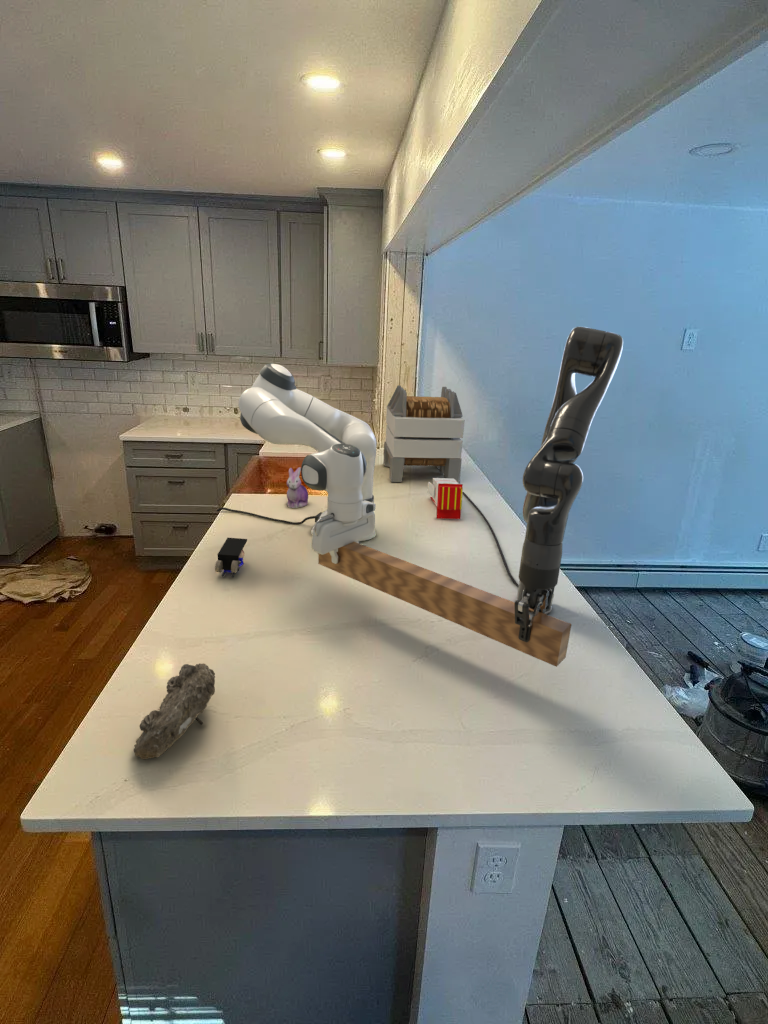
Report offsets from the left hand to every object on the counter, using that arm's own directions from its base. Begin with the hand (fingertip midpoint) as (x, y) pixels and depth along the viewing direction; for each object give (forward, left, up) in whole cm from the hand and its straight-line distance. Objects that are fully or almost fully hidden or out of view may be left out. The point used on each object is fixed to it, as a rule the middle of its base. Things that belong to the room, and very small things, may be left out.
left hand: (343, 559), depth 148 cm
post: (+24, -11, -3) cm, 27 cm away
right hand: (+48, -21, 0) cm, 53 cm away
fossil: (-12, -54, -13) cm, 56 cm away
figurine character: (-37, +7, -13) cm, 40 cm away
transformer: (-9, +133, -13) cm, 134 cm away
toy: (+12, +87, -13) cm, 89 cm away
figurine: (-43, +67, -13) cm, 81 cm away
